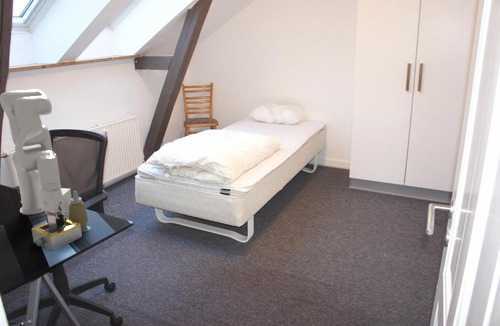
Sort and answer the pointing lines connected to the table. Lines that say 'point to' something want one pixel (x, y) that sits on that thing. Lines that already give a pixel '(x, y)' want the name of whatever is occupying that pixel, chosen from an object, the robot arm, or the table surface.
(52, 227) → the spout can
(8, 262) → the table surface
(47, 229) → the box
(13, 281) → the table surface
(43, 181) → the robot arm
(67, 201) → the skincare box
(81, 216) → the squeeze bottle
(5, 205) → the table surface
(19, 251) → the table surface
